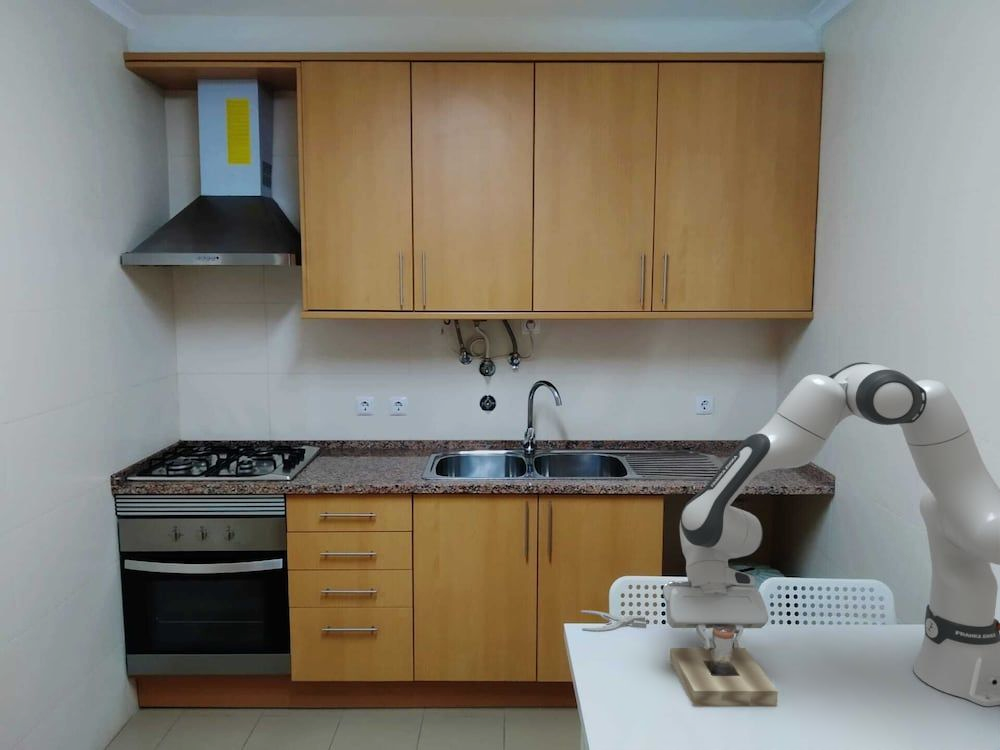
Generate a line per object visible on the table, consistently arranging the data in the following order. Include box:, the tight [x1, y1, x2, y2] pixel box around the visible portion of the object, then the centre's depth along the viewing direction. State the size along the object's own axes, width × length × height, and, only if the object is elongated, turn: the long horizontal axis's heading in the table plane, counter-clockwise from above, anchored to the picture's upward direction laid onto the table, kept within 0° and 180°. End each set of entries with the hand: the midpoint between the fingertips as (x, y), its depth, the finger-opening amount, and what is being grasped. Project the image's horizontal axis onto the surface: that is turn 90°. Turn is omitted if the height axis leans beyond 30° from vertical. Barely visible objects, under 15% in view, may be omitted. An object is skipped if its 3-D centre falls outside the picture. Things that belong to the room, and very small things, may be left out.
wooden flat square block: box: [669, 647, 779, 707], centre depth 139 cm, size 16×16×3 cm
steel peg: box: [710, 624, 735, 676], centre depth 138 cm, size 4×4×9 cm
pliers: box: [580, 609, 648, 633], centre depth 163 cm, size 10×2×15 cm
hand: (723, 649), depth 137 cm, fingers closed on steel peg, 4 cm apart
